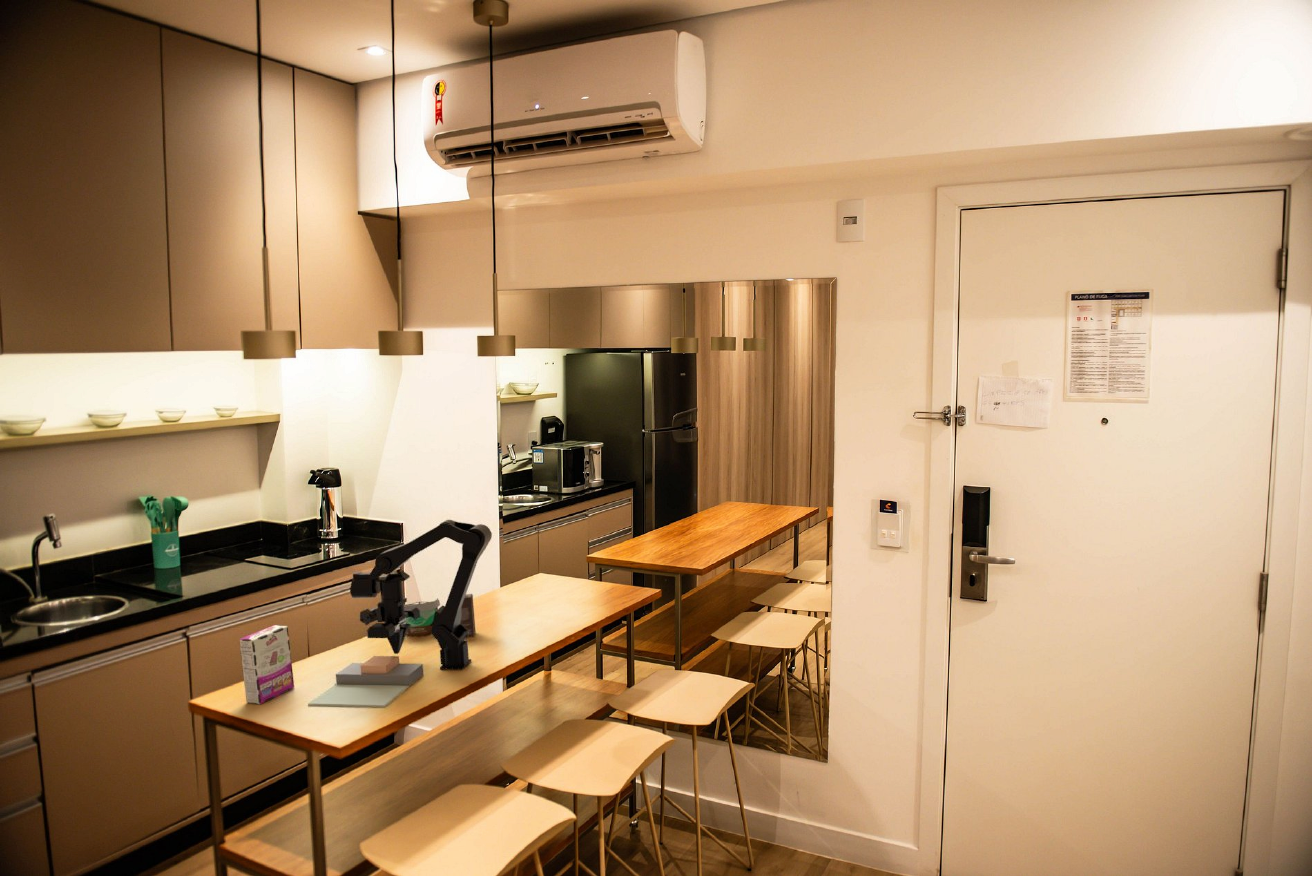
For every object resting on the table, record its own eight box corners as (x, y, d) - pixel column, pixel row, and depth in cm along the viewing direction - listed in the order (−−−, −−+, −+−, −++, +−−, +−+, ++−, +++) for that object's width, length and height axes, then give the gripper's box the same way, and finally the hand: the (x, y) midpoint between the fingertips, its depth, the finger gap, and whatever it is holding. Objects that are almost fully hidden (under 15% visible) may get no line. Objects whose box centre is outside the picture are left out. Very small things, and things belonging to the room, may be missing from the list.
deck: (423, 675, 217) (422, 663, 217) (409, 686, 209) (408, 675, 209) (353, 674, 221) (352, 663, 220) (336, 685, 213) (335, 674, 213)
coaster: (399, 663, 218) (398, 656, 218) (386, 673, 211) (385, 665, 211) (374, 663, 219) (374, 655, 219) (361, 673, 212) (360, 665, 212)
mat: (408, 687, 209) (408, 685, 209) (384, 707, 197) (384, 705, 197) (335, 686, 212) (335, 684, 212) (308, 705, 201) (308, 703, 201)
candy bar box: (280, 686, 215) (274, 624, 213) (295, 688, 213) (289, 625, 211) (244, 703, 204) (238, 638, 203) (259, 705, 202) (253, 639, 201)
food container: (399, 640, 247) (397, 608, 246) (400, 634, 253) (397, 602, 252) (442, 635, 250) (440, 602, 249) (442, 629, 256) (439, 597, 255)
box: (475, 632, 251) (473, 593, 250) (474, 636, 247) (471, 597, 246) (455, 633, 251) (452, 594, 250) (453, 638, 246) (450, 598, 245)
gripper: (381, 587, 233) (386, 641, 235) (345, 606, 215) (350, 665, 216) (418, 587, 231) (423, 641, 233) (385, 606, 213) (390, 666, 214)
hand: (396, 653), depth 224 cm, fingers closed
